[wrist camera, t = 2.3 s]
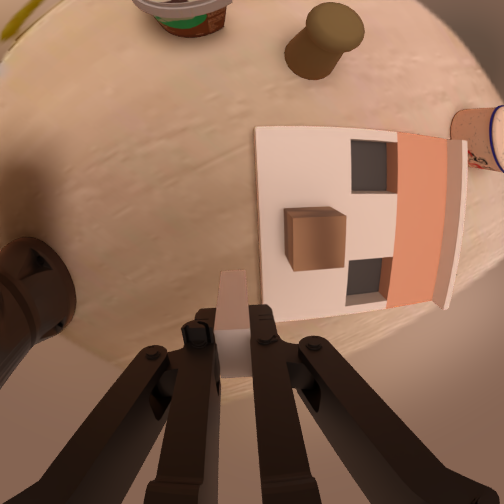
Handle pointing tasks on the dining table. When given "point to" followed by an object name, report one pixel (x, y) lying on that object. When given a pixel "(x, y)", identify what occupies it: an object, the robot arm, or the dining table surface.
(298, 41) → the cork
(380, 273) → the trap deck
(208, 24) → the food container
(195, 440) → the robot arm
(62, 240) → the dining table surface
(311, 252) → the walnut block
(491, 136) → the teacup with lid
